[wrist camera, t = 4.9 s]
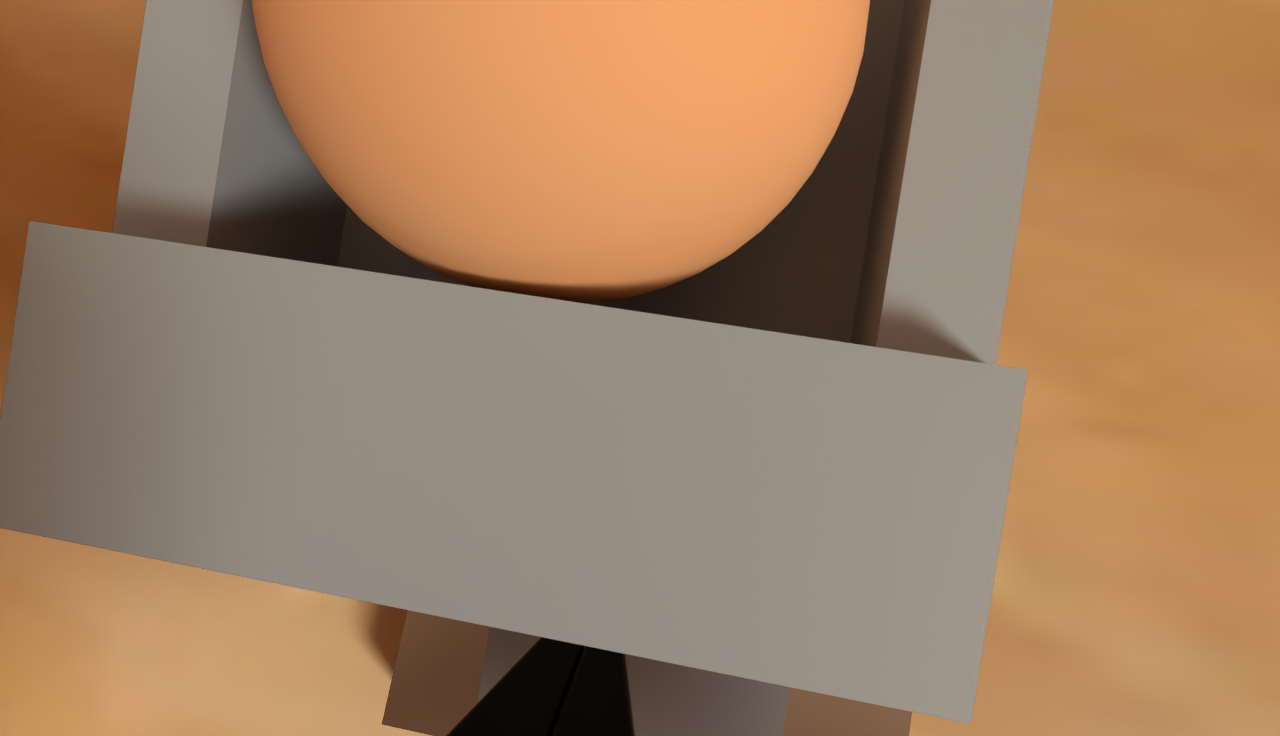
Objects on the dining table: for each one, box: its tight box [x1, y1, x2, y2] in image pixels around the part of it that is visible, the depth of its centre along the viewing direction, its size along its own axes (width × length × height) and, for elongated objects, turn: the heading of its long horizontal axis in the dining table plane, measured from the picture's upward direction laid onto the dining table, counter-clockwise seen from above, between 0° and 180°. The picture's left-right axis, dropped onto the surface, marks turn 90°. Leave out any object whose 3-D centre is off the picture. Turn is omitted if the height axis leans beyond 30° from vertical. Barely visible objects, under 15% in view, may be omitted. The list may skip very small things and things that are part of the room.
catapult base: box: [382, 610, 912, 736], centre depth 17 cm, size 12×10×6 cm
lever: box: [0, 0, 1054, 736], centre depth 11 cm, size 11×6×13 cm, turn 170°
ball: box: [252, 0, 870, 303], centre depth 5 cm, size 3×3×3 cm
